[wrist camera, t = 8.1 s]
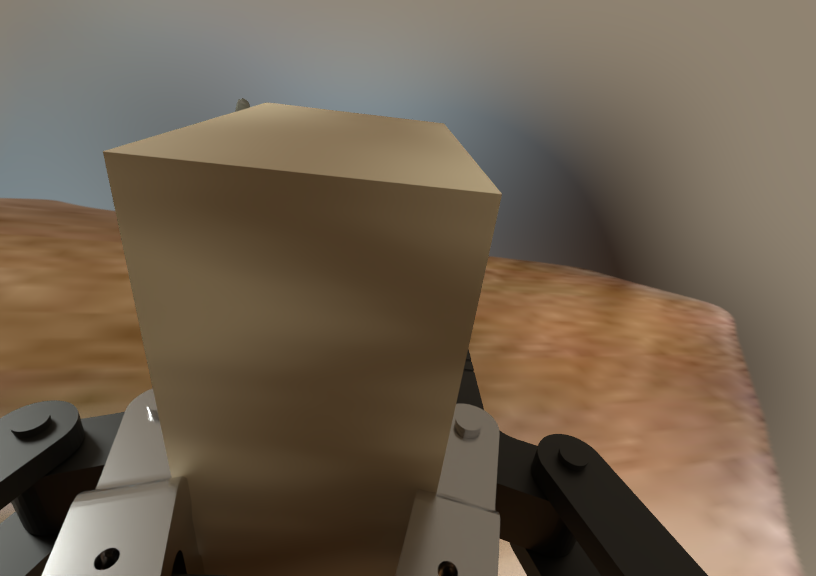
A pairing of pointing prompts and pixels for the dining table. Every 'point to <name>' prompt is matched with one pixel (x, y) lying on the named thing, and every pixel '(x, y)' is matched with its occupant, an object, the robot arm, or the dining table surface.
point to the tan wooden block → (304, 323)
